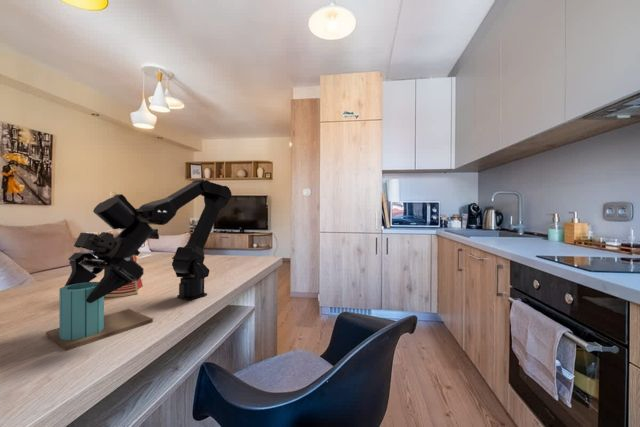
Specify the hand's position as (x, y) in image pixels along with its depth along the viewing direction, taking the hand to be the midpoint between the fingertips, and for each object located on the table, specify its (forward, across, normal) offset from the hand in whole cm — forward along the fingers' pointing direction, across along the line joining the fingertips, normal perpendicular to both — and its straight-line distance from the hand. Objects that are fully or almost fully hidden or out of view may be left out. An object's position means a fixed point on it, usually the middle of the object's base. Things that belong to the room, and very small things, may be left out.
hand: (74, 299), depth 57 cm
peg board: (+2, 0, +10) cm, 10 cm away
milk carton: (-11, -23, +24) cm, 35 cm away
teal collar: (+4, 0, +6) cm, 8 cm away
